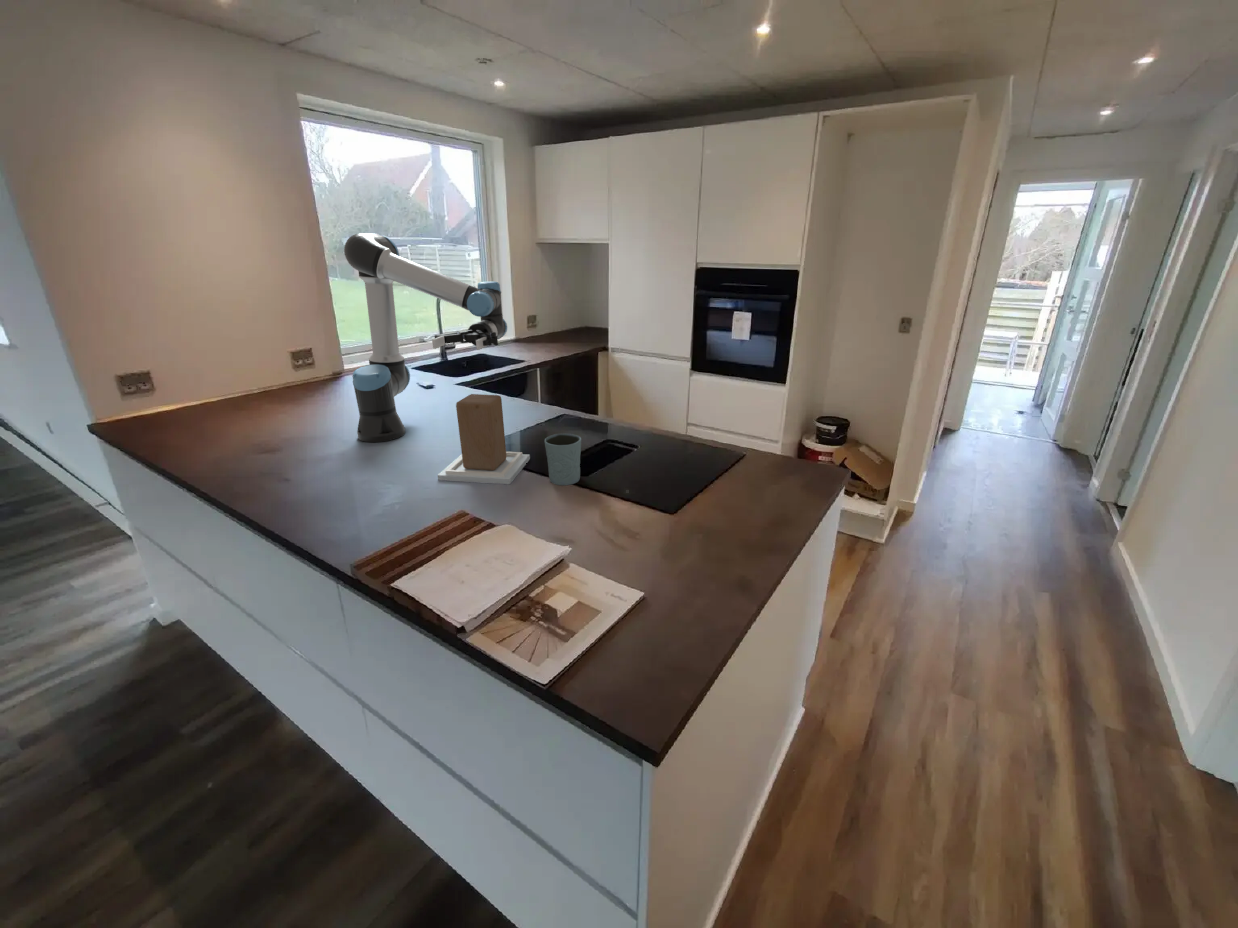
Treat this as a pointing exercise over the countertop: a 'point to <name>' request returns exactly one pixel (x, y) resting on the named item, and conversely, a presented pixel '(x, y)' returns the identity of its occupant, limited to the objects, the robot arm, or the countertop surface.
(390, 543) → the countertop surface
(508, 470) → the baseplate
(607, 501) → the countertop surface
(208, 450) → the countertop surface
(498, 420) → the wooden block
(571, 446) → the teal cup
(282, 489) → the countertop surface
